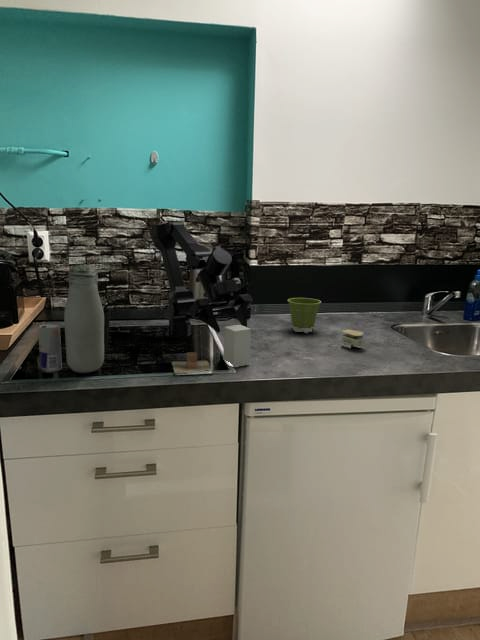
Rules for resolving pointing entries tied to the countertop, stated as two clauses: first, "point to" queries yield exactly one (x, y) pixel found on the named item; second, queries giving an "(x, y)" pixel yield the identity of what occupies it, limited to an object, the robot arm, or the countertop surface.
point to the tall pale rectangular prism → (237, 344)
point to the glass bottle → (84, 321)
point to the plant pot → (303, 311)
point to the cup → (106, 328)
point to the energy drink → (50, 348)
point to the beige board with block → (190, 365)
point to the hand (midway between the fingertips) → (232, 329)
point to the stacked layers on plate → (352, 337)
